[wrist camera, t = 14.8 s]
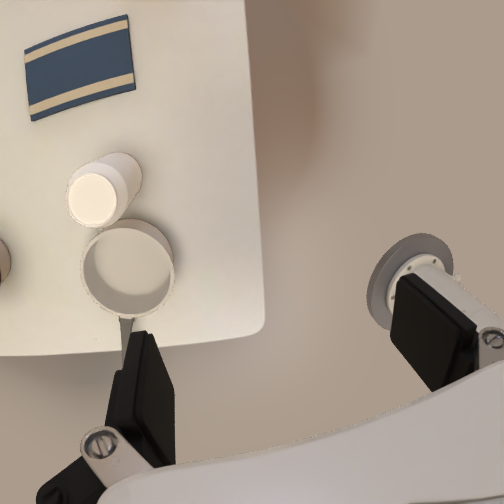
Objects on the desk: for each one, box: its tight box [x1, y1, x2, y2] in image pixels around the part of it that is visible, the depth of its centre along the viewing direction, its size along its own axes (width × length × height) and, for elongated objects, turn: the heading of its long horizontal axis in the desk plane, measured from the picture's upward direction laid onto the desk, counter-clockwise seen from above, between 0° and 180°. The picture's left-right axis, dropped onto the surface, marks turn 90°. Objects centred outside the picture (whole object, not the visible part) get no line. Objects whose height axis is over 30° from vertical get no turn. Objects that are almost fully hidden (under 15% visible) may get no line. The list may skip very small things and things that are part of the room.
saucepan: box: [80, 219, 175, 364], centre depth 39 cm, size 12×20×6 cm, turn 169°
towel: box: [24, 14, 136, 121], centre depth 29 cm, size 14×10×1 cm
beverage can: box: [66, 153, 142, 228], centre depth 31 cm, size 6×6×12 cm
